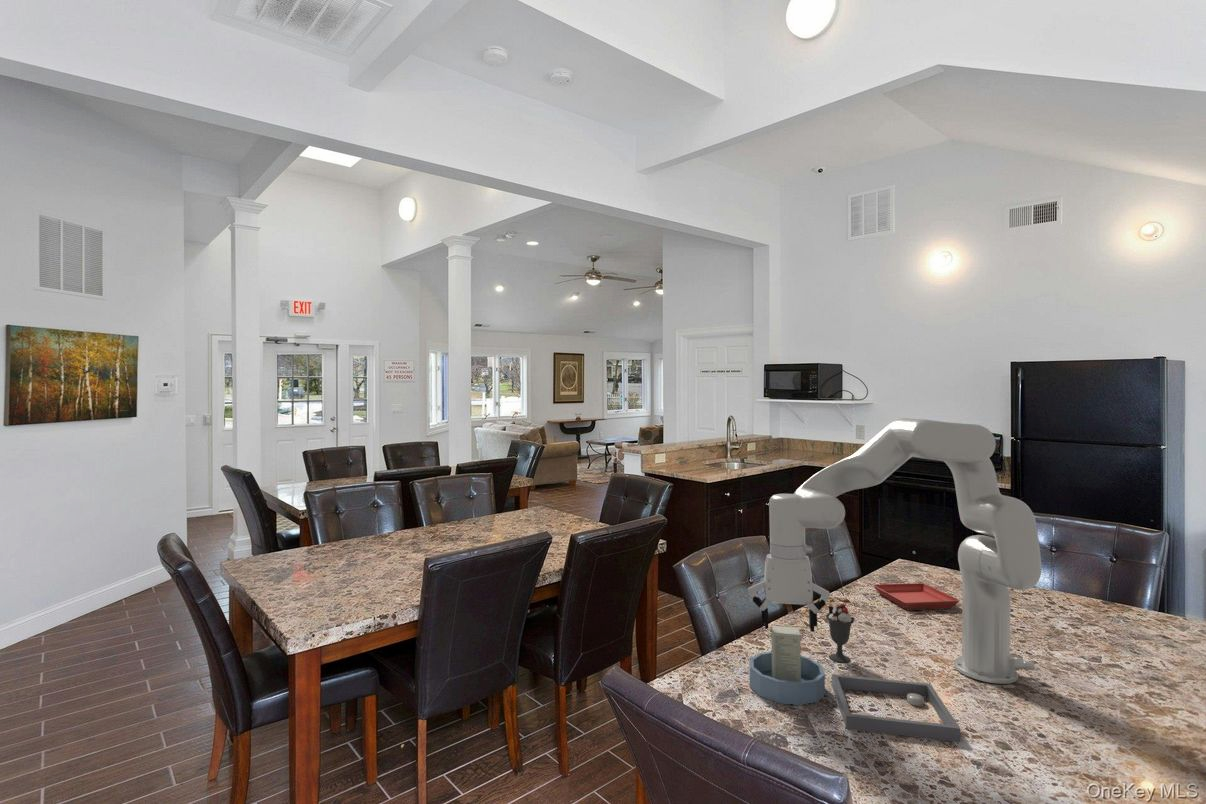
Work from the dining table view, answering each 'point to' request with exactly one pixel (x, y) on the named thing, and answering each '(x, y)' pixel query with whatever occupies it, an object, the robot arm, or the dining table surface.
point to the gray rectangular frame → (890, 725)
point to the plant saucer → (916, 596)
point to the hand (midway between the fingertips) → (788, 627)
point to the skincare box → (786, 653)
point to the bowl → (787, 690)
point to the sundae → (839, 630)
